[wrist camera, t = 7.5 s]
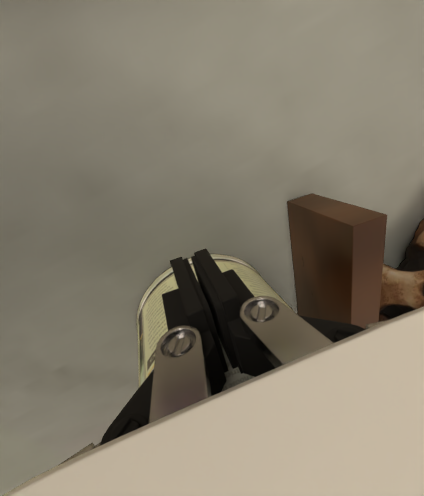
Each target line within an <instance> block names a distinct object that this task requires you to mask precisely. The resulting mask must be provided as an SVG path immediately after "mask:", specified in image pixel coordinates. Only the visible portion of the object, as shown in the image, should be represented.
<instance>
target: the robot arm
mask: <svg viewBox="0 0 424 496" xmlns="http://www.w3.org/2000/svg"><path fill="white" fill-rule="evenodd" d="M194 254H195V256H193V257H191V260H192V263H193V266H194V269H195V273H196V276H197V278H196V276H195V274H194V272H193V270H192V267H191V265H190V263H189V261H188V259H184V260H183V259H182V257H180V258H177V259H174V260H171V261H170V263H171V266H172V269H173V273H174V276H175V279H176V283H177V286H178V289H175V290H172V291H169V292H166V293H164V294H162V299H163V305H164V311H165V316H166V322H167V328H168V331H167V332H166V333H165V334H164V335H163V336H162V337H161V338H160V339H159V341H158V343H157V346H156V352H155V363H154V369H153V370H152V372H151V373H150V374H149V376H148V377H147V378H146V380H145V381H144V382H143V383H142V385H141V386H140V387H139V389H138V390H137V391H136V393H135V394H134V395H133V396H132V398H131V399H130V400H129V402H128V403H127V404H126V406H125V407H124V408H123V410H122V411H121V412H120V413H119V415H118V416H117V417H116V419H115V420H114V421H113V423H112V424H111V425H110V426H109V428H108V429H107V431H106V433H105V434H104V436H103V438H102V441H101V442H100V443H99V444H97V445H96V446H94V444H93V443H91V444H89V445H88V446H86V447H85V448H83V449H82V450H80V451H79V452H77V453H76V454H74V455H73V456H71V457H70V458H68V459H67V460H65V461H64V462H62V463H61V464H59V465H58V466H56V467H54V468H52V469H50V470H48V471H46V472H44V473H42V474H40V475H38V476H36V477H34V478H32V479H30V480H28V481H26V482H25V483H23V484H21V485H20V486H18V487H16V488H14V489H13V490H11V491H9V492H7V493H6V494H4V495H2V496H424V307H421V308H419V309H416V310H413V311H411V312H408V313H405V314H403V315H400V316H398V317H395V318H393V319H390V320H386V321H381V322H375V323H370V324H366V328H365V329H364V328H362V327H360V326H356V325H352V324H348V323H342V322H336V321H330V320H324V319H318V318H312V317H306V316H300V315H297V314H296V313H295V312H293V311H292V310H291V309H289V308H288V307H287V306H286V305H284V304H283V303H282V302H280V301H279V300H277V299H276V298H274V297H270V296H257V297H254V295H253V294H252V293H251V291H250V290H249V289H248V288H247V286H246V285H245V284H244V283H243V281H242V280H241V279H240V277H239V276H238V275H237V274H236V272H235V271H234V270H233V269H231V270H228V271H225V272H222V271H221V270H220V268H219V267H218V265H217V264H216V263H215V261H214V260H213V258H212V257H211V255H210V254H209V252H208V251H207V249H203V250H200V251H197V252H195V253H194ZM197 279H198V281H197ZM218 336H219V337H218ZM219 339H220V340H219ZM220 341H221V343H222V346H223V348H224V350H225V353H226V355H227V357H228V360H229V362H230V364H231V366H232V368H233V369H234V368H237V367H238V368H239V370H240V373H241V374H243V373H244V374H247V375H251V376H254V378H252V379H250V380H248V381H245V382H243V383H241V384H238V385H236V386H234V387H231V388H229V389H227V390H225V391H222V389H223V387H224V385H225V383H226V381H227V380H226V377H225V374H224V373H225V372H227V371H228V367H227V364H226V360H225V357H224V354H223V350H222V347H221V344H220ZM221 391H222V392H221Z"/></svg>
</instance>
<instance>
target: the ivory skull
mask: <svg viewBox="0 0 424 496" xmlns="http://www.w3.org/2000/svg"><path fill="white" fill-rule="evenodd" d="M421 307H424V219H423V220H422V221H421V222H420V224H419V228H418V229H417V231H416V232H415V238H414V239H413V241H412V242H411V244H410V245H409V247H408V248H407V250H406V259H405V260H404V261H403V262H402V263H401V264H400V266H399V267H398V268H396V269H394V268H391V267H390V266H388V265H385V264H383V271H382V284H381V296H380V308H379V321H378V322H381V321H386V320H390V319H393V318H395V317H398V316H400V315H403V314H405V313H408V312H411V311H413V310H416V309H419V308H421Z"/></svg>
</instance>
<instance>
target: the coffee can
mask: <svg viewBox="0 0 424 496" xmlns="http://www.w3.org/2000/svg"><path fill="white" fill-rule="evenodd" d="M210 255H211V257H212V258H213V260H214V261H215V263H216V264H217V265H218V267H219V268H220V270H221V271H222V272H225V271H228V270H231V269H233V270H234V271H235V272H236V274H237V275H238V276H239V277H240V279H241V280H242V281H243V283H244V284H245V285H246V286H247V288H248V289H249V290H250V291H251V293H252V294H253V295H254V297H257V296H270V297H274V298H276V299H277V300H279V301H280V302H282V303H283V304H284V305H286V306H287V307H288V308H289V309H291V308H290V307H289V306H288V305H287V304H286V303H285V302H284V300H283V299H282V298H281V297H280V296H279V295H278V294H277V293H276V292H275V291H274V290H273V289H272V288H271V287H270V286H269V285H268V284H267V283H266V282H265V281H264V280H263V279H262V277H261V276H260V274H259V273H258V272H257V271H256V270H255V269H254V268H253V267H252V266H250V265H249V264H248V263H246V262H244V261H242V260H240V259H238V258H235V257H231V256H226V255H218V254H210ZM188 261H189V263H190V265H191V267H192V270H193V272H194V274H195V276H196V273H195V269H194V266H193V263H192V260H191V258H190V259H188ZM196 278H197V276H196ZM197 281H198V279H197ZM175 289H178V286H177V283H176V279H175V276H174V273H173V269H172V267H171V268H169V269H168V270H166V271H165V272H164V273H163V274H162V275H160V276H159V277H158V278H157V279H156V280H155V281H154V282H153V284H152V285H151V286H150V287H149V288H148V290H147V291H146V293H145V295H144V296H143V298H142V300H141V303H140V305H139V309H138V313H137V323H136V326H137V332H138V360H139V387H140V386H141V385H142V383H143V382H144V381H145V380H146V378H147V377H148V376H149V374H150V373H151V372H152V370H153V369H154V363H155V352H156V346H157V343H158V341H159V339H160V338H161V337H162V336H163V335H164V334H165V333H166V332H167V331H168V328H167V322H166V316H165V311H164V305H163V299H162V294H164V293H166V292H169V291H172V290H175ZM291 310H292V309H291ZM292 311H293V310H292ZM293 312H294V311H293ZM218 337H219V336H218ZM219 340H220V339H219ZM220 344H221V347H222V350H223V354H224V357H225V360H226V364H227V367H228V371H227V372H225V373H224V374H225V377H226V380H227V381H226V383H225V385H224V387H223V389H222V391H225V390H227V389H229V388H231V387H234V386H236V385H238V384H241V383H243V382H245V381H248V380H250V379H252V378H254V376H251V375H247V374H244V373H243V374H241V373H240V370H239V368H238V367H237V368H234V369H233V368H232V366H231V364H230V362H229V360H228V357H227V355H226V353H225V350H224V348H223V346H222V343H221V341H220ZM222 391H221V392H222Z"/></svg>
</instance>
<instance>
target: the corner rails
mask: <svg viewBox="0 0 424 496" xmlns="http://www.w3.org/2000/svg"><path fill="white" fill-rule="evenodd" d="M287 205H288V215H289V226H290V236H291V246H292V257H293V267H294V277H295V288H296V298H297V308H298V315H300V316H306V317H312V318H318V319H324V320H330V321H336V322H342V323H348V324H352V325H356V326H360V327H362V328H364V329H365V328H366V324H370V323H375V322H378V321H379V308H380V296H381V284H382V271H383V259H384V247H385V234H386V222H387V215H386V214H383V213H379V212H376V211H372V210H368V209H365V208H361V207H358V206H354V205H351V204H347V203H344V202H340V201H337V200H333V199H329V198H326V197H322V196H319V195H315V194H309V195H306V196H303V197H300V198H296V199H293V200H290V201H287Z"/></svg>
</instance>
